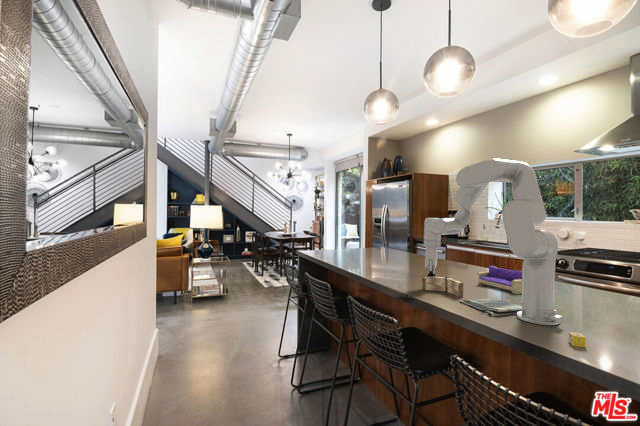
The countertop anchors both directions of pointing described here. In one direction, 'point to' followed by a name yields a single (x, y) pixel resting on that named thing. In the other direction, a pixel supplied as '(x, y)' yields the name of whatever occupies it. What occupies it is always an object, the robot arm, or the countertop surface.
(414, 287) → the countertop surface
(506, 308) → the dish towel
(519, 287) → the toy sofa
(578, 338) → the alphabet block
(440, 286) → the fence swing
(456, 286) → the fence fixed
